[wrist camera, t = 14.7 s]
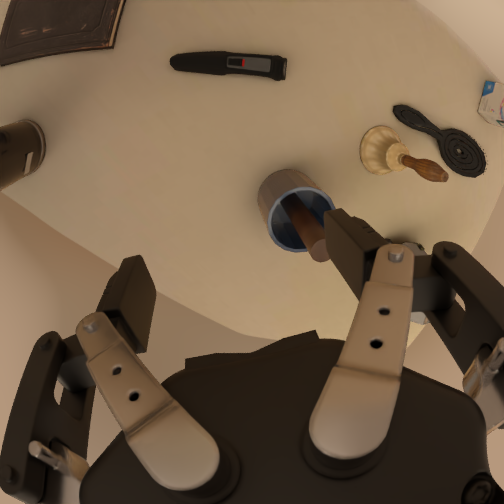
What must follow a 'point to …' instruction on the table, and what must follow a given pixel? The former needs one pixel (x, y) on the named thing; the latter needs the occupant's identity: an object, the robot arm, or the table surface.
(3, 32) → the hardcover book
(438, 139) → the hairbrush
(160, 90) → the table surface
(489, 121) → the ink box
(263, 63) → the electric trimmer
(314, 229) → the stick
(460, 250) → the robot arm
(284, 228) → the cup
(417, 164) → the hand bell
